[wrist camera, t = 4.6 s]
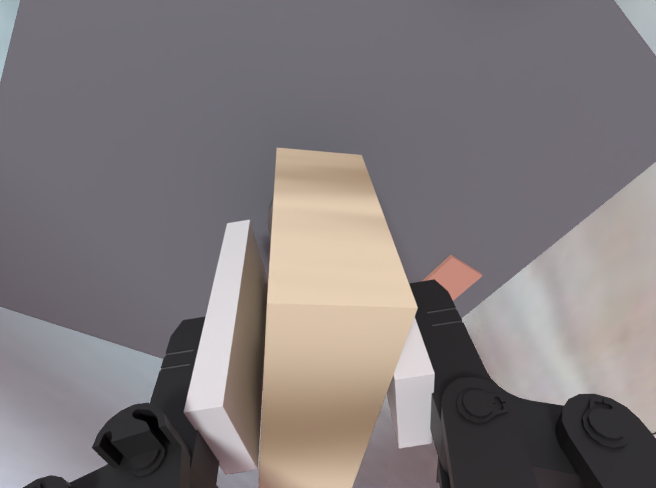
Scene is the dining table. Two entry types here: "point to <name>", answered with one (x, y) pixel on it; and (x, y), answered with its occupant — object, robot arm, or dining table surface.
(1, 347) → the dining table surface
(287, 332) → the beige boxy piece
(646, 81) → the dial board
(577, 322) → the dining table surface
